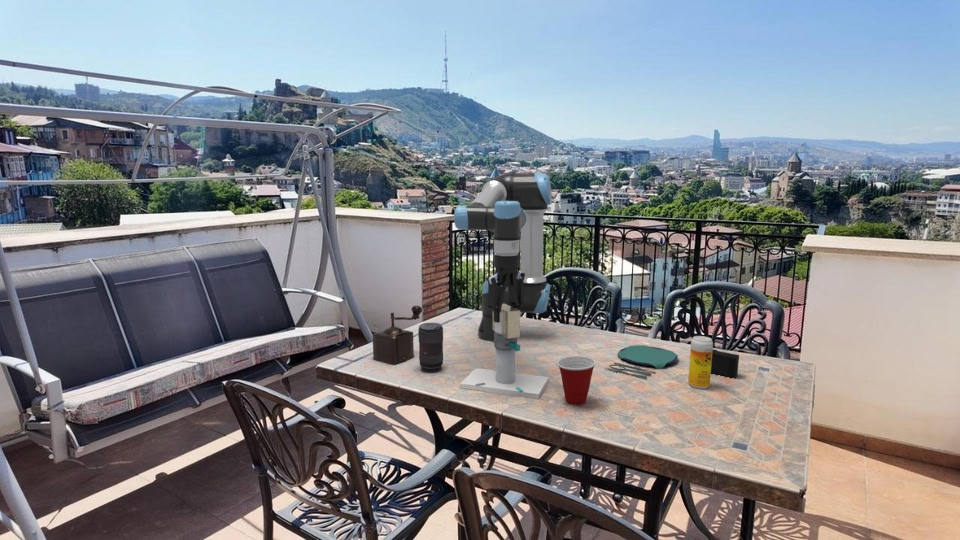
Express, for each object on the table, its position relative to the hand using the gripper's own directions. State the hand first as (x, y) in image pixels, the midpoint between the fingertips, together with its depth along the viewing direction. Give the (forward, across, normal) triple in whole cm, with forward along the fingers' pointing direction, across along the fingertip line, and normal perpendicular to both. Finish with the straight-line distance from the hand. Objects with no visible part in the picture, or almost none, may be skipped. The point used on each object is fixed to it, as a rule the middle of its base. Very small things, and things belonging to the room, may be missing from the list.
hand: (505, 330), depth 157 cm
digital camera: (+18, +60, -38) cm, 73 cm away
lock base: (+17, 0, 0) cm, 17 cm away
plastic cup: (+17, +7, -22) cm, 29 cm away
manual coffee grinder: (+17, -10, +44) cm, 48 cm away
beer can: (+17, +44, -39) cm, 62 cm away
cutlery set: (+18, +50, -16) cm, 55 cm away
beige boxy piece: (+5, 0, -1) cm, 5 cm away
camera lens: (+17, -9, +26) cm, 33 cm away
